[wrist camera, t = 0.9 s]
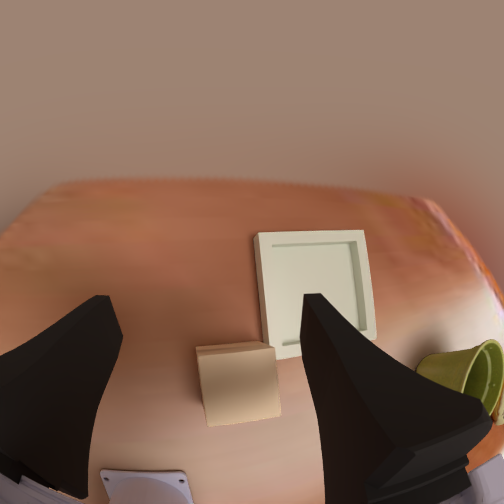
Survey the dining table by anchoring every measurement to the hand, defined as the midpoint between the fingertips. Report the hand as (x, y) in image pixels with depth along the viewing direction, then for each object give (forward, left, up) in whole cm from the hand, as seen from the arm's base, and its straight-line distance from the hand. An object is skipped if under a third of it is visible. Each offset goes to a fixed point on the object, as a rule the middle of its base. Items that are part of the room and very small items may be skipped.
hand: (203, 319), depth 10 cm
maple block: (-5, -2, -13) cm, 14 cm away
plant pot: (-11, -24, -13) cm, 30 cm away
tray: (+1, -10, -13) cm, 16 cm away
